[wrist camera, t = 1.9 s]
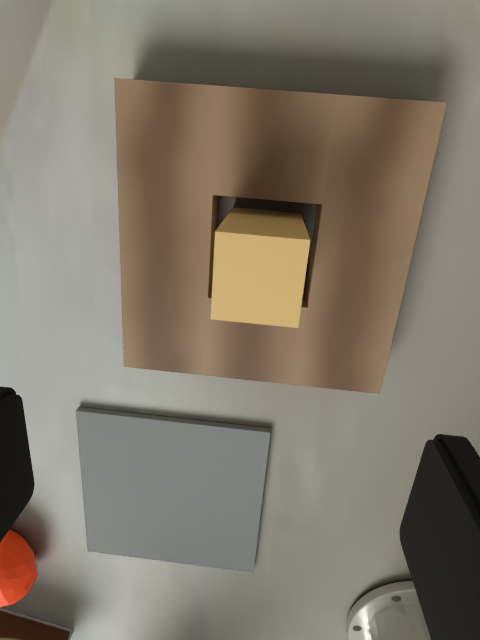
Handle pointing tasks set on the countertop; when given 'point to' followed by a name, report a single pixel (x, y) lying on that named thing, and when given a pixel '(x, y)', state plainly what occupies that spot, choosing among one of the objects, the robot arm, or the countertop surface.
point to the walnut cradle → (270, 184)
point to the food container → (29, 628)
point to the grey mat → (172, 487)
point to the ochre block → (259, 267)
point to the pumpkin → (15, 568)
